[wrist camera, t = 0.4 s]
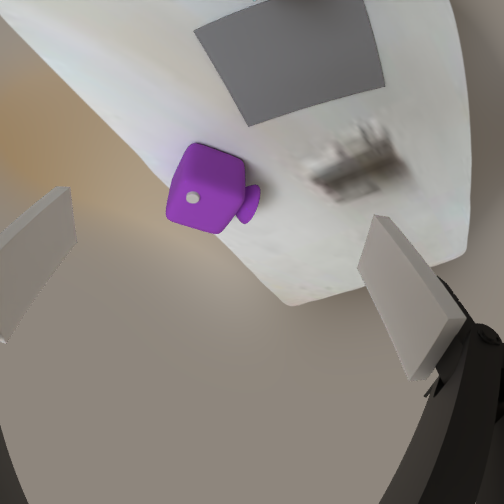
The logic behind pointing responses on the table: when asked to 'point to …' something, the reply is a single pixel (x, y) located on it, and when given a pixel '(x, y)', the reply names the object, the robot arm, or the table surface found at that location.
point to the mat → (293, 55)
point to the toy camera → (210, 190)
